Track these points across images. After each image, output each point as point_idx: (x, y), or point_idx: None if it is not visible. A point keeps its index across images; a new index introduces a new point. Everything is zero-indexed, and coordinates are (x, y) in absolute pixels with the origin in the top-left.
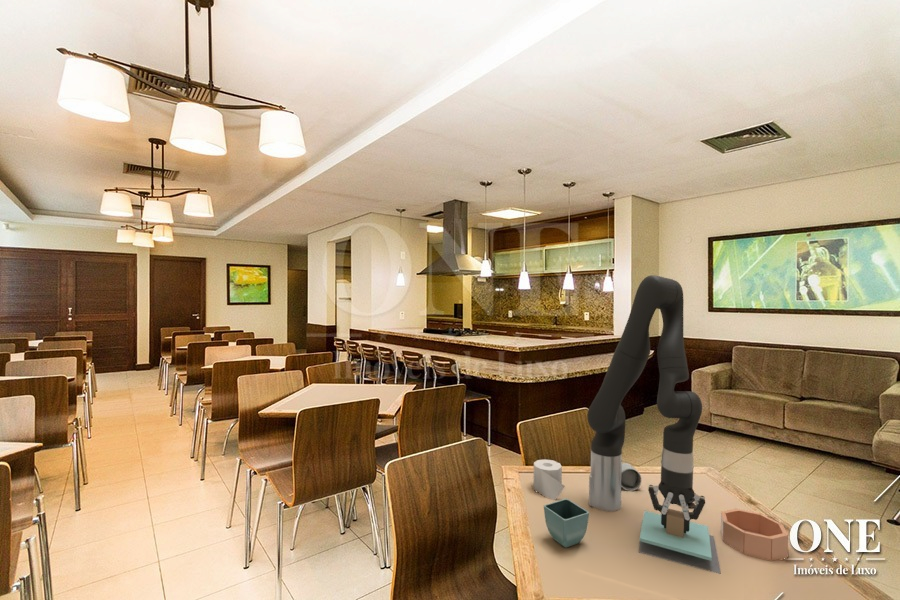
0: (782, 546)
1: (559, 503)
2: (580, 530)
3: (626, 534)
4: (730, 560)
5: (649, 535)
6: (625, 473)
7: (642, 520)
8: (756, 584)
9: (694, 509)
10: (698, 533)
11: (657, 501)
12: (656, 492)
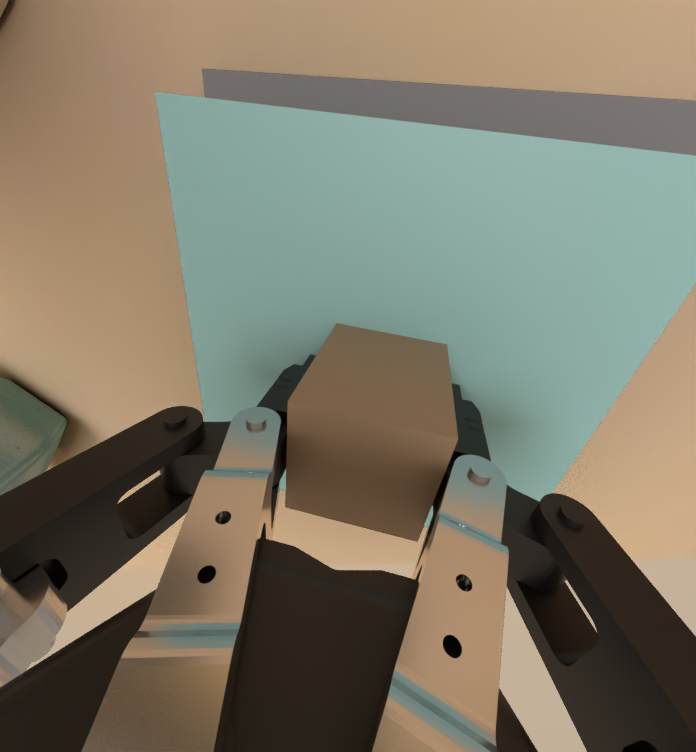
0: None
1: None
2: (23, 482)
3: (172, 304)
4: (672, 396)
5: None
6: None
7: (204, 83)
8: (670, 528)
9: (575, 582)
10: (557, 354)
11: (154, 466)
12: (31, 642)
